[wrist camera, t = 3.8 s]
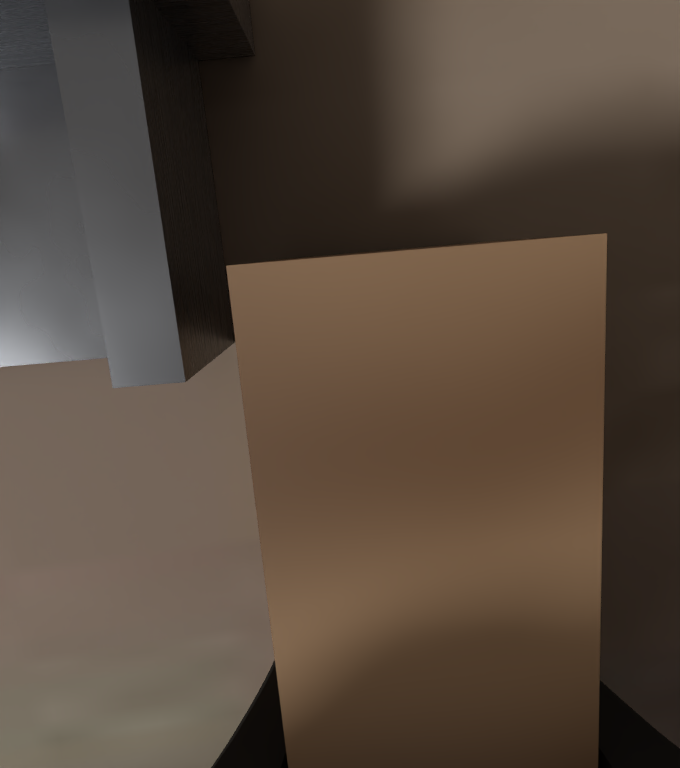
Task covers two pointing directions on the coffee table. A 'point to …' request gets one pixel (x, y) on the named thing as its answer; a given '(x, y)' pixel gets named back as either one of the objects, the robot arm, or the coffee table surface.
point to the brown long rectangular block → (430, 498)
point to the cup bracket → (112, 185)
